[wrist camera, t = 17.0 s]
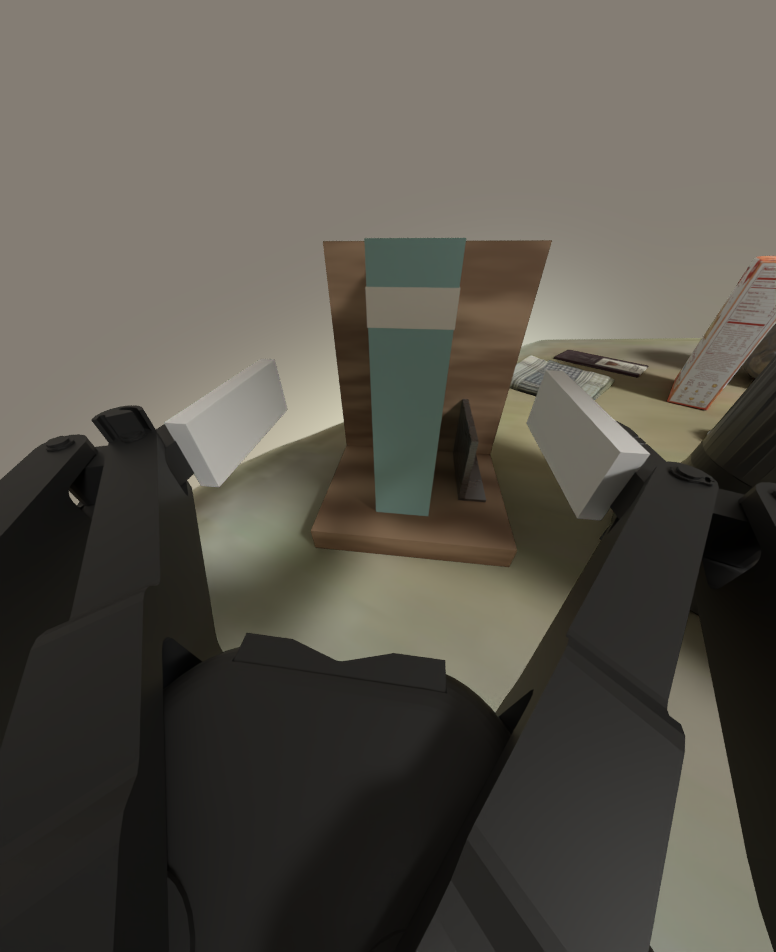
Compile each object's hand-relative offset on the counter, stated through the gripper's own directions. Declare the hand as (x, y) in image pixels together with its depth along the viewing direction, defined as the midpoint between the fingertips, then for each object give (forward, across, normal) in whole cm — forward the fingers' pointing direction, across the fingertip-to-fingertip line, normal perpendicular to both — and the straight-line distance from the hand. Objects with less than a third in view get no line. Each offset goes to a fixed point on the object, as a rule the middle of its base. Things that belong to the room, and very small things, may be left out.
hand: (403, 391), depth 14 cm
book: (+10, 0, -14) cm, 17 cm away
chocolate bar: (+62, +44, -17) cm, 78 cm away
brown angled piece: (+11, +1, -17) cm, 20 cm away
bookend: (+12, +7, -14) cm, 19 cm away
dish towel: (+47, +28, -17) cm, 58 cm away
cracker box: (+44, +52, -17) cm, 70 cm away
